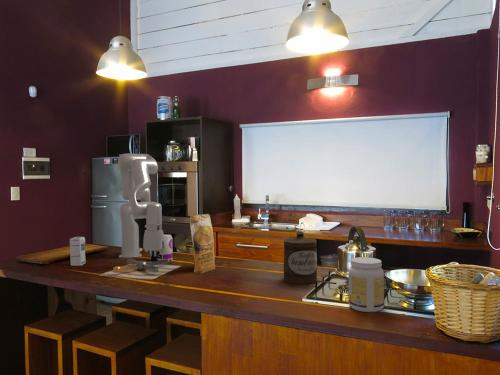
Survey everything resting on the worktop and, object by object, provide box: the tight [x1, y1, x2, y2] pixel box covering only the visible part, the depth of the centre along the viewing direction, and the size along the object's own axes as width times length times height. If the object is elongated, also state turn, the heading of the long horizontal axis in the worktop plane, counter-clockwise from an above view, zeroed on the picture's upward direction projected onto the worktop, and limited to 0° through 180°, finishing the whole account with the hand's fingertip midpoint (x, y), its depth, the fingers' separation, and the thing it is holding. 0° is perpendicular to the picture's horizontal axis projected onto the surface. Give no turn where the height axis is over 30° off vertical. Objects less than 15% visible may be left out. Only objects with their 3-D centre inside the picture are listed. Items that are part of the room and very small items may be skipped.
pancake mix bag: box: [188, 213, 216, 275], centre depth 195 cm, size 7×19×28 cm, turn 148°
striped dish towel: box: [99, 263, 181, 281], centre depth 192 cm, size 28×28×2 cm
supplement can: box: [158, 234, 174, 263], centre depth 213 cm, size 8×8×15 cm
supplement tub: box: [348, 256, 385, 313], centre depth 140 cm, size 12×12×17 cm
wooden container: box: [283, 230, 318, 285], centre depth 178 cm, size 15×15×22 cm
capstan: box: [112, 258, 169, 273], centre depth 192 cm, size 28×28×4 cm
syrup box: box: [69, 236, 87, 267], centre depth 211 cm, size 6×6×14 cm
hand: (154, 263), depth 200 cm, fingers closed
